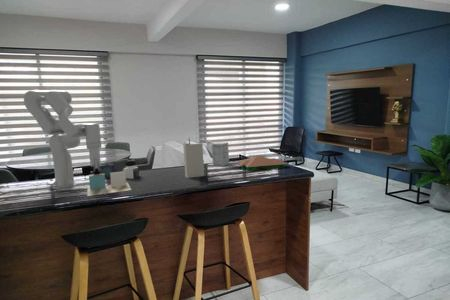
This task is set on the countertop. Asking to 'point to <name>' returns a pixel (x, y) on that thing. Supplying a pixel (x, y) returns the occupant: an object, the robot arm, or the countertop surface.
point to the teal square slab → (97, 181)
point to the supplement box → (220, 154)
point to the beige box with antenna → (193, 160)
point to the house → (260, 162)
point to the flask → (106, 169)
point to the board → (108, 190)
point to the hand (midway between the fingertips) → (97, 177)
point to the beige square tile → (118, 179)
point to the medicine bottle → (131, 169)
